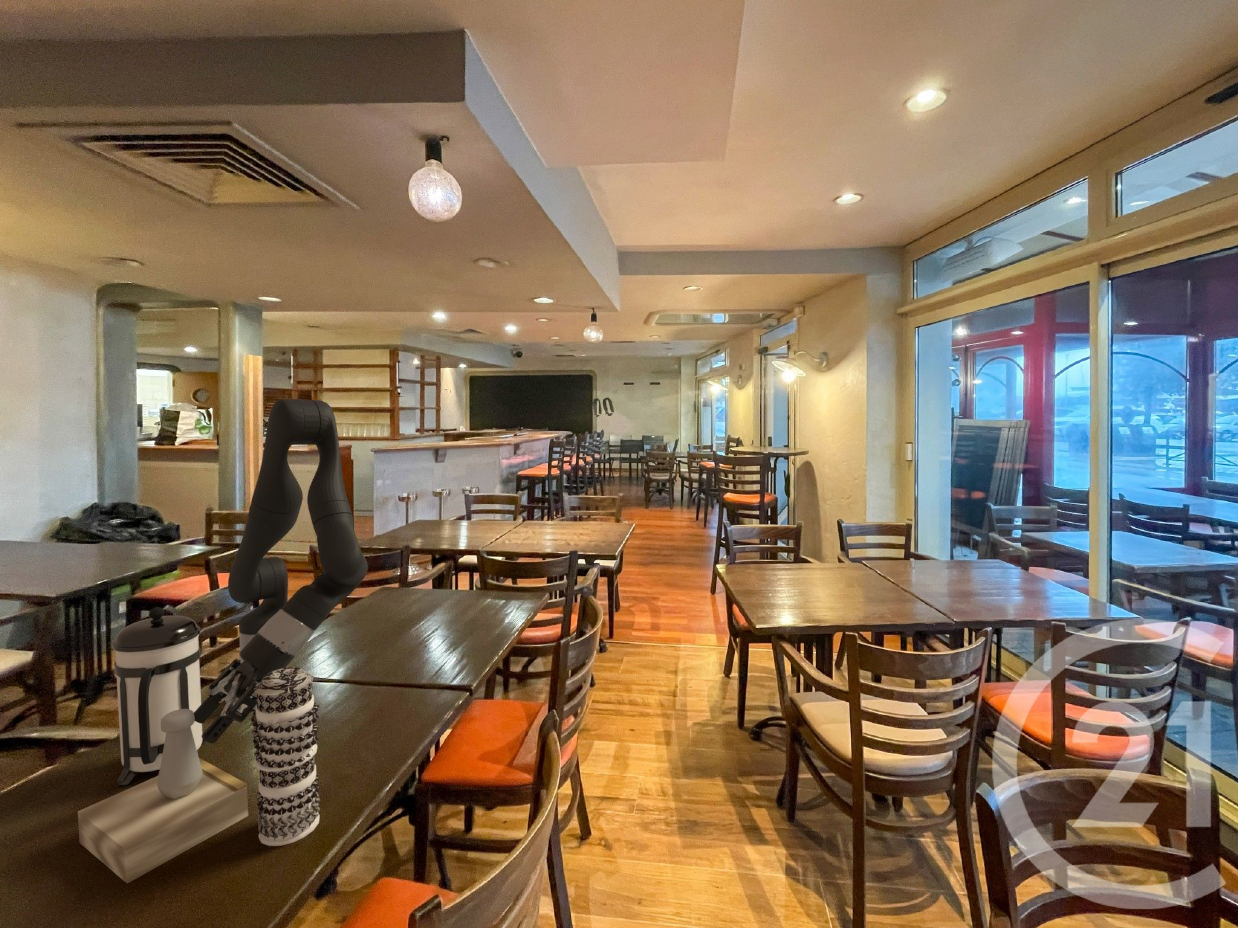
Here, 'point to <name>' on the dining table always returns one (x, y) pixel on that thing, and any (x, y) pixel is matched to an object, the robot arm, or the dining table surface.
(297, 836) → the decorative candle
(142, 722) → the coffee press
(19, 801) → the dining table surface
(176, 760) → the salt shaker
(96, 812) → the wood block
